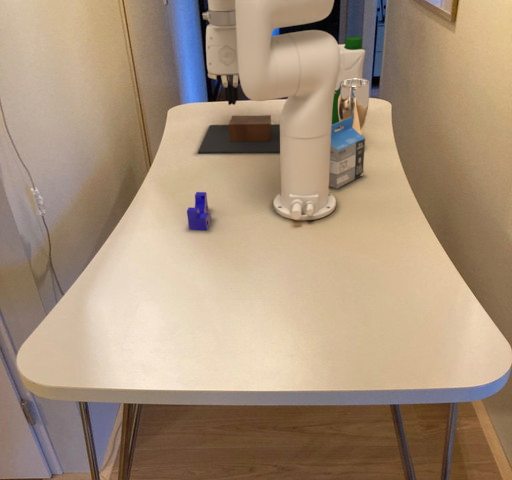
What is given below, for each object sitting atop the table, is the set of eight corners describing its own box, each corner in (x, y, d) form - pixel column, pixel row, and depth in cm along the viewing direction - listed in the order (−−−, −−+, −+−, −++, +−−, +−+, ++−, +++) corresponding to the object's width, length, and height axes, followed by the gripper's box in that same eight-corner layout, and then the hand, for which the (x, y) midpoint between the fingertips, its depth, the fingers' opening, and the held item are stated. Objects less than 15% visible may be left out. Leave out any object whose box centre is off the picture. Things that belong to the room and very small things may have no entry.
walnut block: (230, 141, 138) (269, 141, 137) (228, 124, 135) (269, 123, 134) (233, 132, 143) (271, 132, 142) (232, 115, 140) (271, 115, 139)
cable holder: (207, 230, 106) (204, 211, 103) (189, 229, 107) (186, 211, 104) (215, 210, 112) (213, 192, 109) (198, 210, 112) (196, 191, 110)
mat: (287, 153, 132) (287, 151, 132) (198, 153, 135) (197, 151, 134) (291, 125, 146) (291, 124, 145) (210, 126, 148) (209, 125, 148)
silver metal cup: (333, 152, 131) (337, 86, 121) (337, 141, 136) (340, 77, 126) (363, 154, 130) (368, 87, 120) (365, 142, 135) (371, 77, 125)
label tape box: (336, 189, 116) (339, 131, 108) (322, 184, 119) (324, 127, 111) (363, 176, 121) (368, 119, 113) (349, 171, 123) (352, 115, 115)
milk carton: (362, 126, 143) (369, 41, 130) (328, 130, 142) (332, 45, 129) (351, 115, 150) (357, 33, 136) (319, 118, 149) (322, 36, 136)
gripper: (190, 22, 121) (199, 108, 133) (257, 20, 119) (261, 107, 131) (196, 15, 126) (205, 98, 138) (261, 13, 125) (264, 97, 137)
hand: (232, 102), depth 135 cm, fingers closed
